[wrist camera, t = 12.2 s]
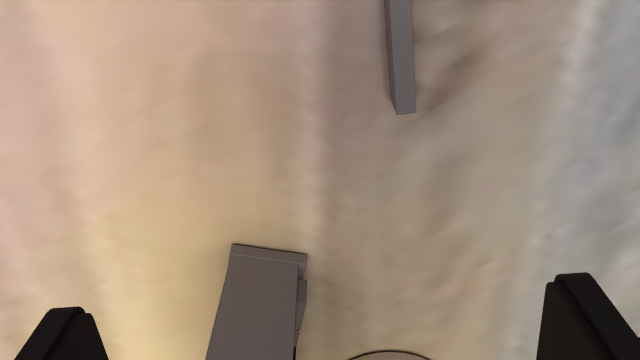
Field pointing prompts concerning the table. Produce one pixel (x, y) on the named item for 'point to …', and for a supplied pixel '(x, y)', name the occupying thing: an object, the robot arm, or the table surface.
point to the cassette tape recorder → (259, 306)
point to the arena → (400, 55)
